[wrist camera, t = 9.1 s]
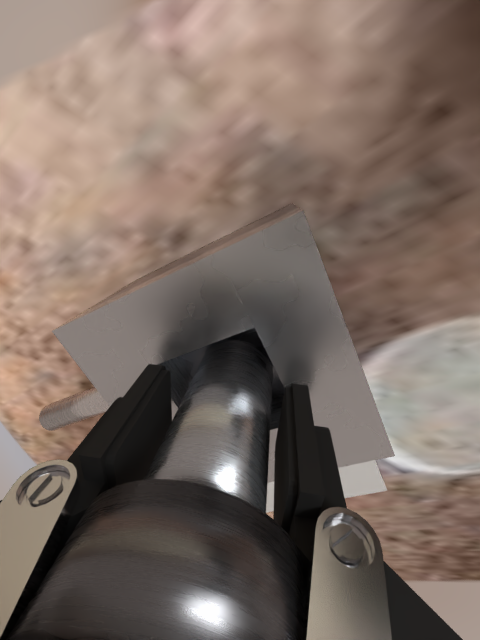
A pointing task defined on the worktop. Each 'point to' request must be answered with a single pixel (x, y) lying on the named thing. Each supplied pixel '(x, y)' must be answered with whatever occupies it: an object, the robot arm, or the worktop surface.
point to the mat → (348, 482)
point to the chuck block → (232, 333)
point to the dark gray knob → (184, 531)
